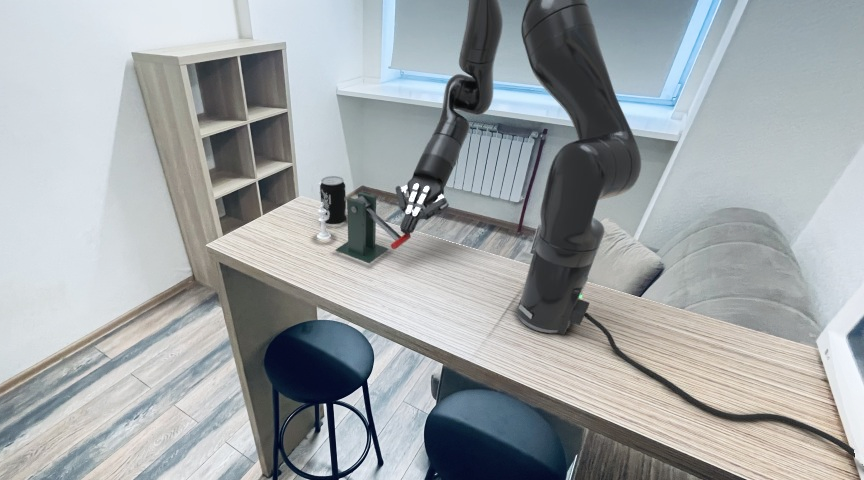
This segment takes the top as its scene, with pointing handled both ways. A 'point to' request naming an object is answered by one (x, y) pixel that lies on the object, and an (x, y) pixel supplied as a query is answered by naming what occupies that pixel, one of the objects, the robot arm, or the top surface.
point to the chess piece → (323, 223)
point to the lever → (385, 226)
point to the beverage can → (333, 199)
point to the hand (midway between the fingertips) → (405, 232)
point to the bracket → (361, 231)
